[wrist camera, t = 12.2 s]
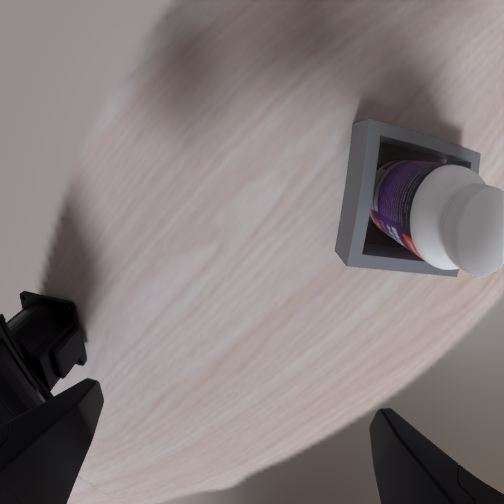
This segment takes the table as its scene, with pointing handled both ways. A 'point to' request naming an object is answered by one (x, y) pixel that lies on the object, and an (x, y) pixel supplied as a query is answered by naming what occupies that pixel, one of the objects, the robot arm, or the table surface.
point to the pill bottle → (441, 214)
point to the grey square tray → (361, 193)
